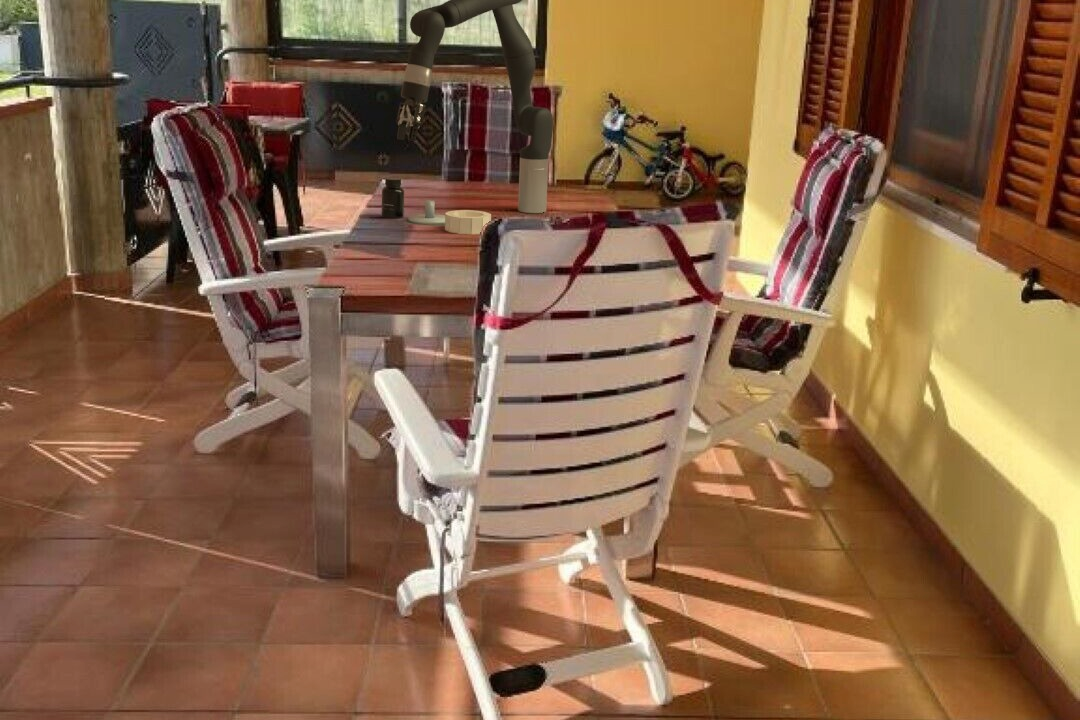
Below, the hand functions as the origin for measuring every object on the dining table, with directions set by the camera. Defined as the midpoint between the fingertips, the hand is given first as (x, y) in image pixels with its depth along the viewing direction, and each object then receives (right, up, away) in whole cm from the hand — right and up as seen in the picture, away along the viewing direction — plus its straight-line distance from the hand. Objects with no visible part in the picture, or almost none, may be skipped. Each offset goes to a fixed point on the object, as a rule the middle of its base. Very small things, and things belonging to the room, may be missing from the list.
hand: (405, 140), depth 302 cm
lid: (+5, -21, +16) cm, 27 cm away
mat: (+5, -21, +16) cm, 27 cm away
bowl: (+17, -25, +5) cm, 31 cm away
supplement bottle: (-7, -20, +21) cm, 29 cm away
